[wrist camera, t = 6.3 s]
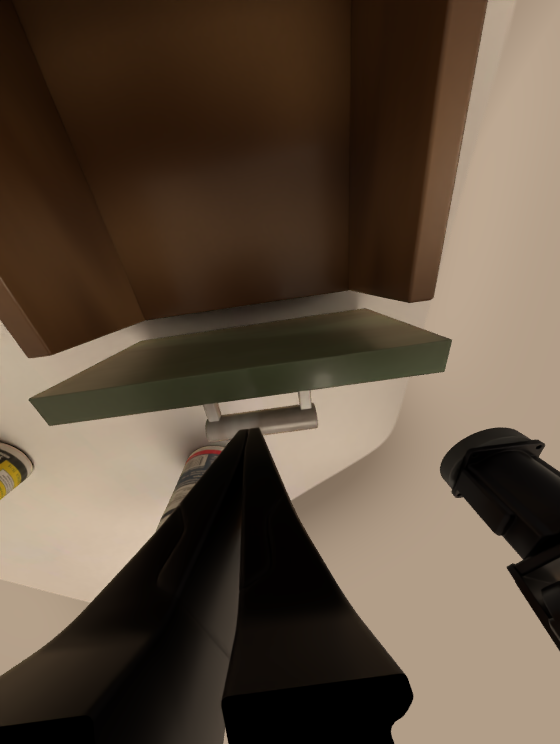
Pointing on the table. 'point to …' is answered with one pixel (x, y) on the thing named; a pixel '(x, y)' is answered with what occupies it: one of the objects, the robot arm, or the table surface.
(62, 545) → the table surface
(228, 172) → the drawer
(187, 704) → the robot arm
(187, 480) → the pill bottle
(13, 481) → the supplement bottle
